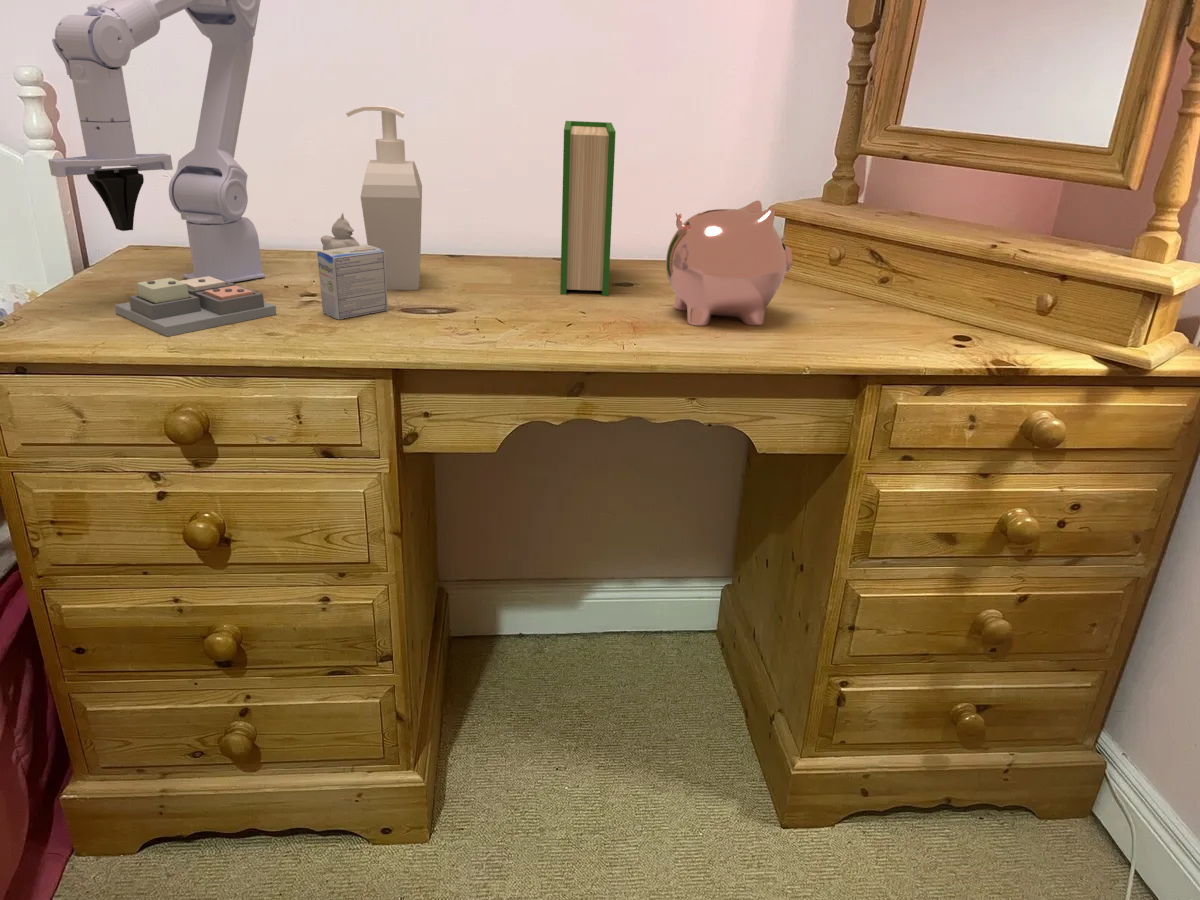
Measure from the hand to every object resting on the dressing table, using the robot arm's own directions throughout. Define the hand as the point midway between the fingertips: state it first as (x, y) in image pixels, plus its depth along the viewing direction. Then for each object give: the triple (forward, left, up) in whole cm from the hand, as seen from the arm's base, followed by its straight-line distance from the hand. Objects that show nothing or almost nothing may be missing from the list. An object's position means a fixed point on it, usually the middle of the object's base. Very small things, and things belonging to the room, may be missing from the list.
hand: (124, 229), depth 117 cm
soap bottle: (-34, +12, -10) cm, 37 cm away
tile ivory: (-7, +6, -9) cm, 12 cm away
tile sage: (0, +10, -7) cm, 12 cm away
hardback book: (-58, +31, -10) cm, 66 cm away
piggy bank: (-58, +58, -11) cm, 83 cm away
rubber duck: (-38, -7, -10) cm, 40 cm away
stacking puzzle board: (-4, +9, -10) cm, 14 cm away
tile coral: (-7, +13, -9) cm, 17 cm away
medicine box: (-20, +22, -11) cm, 32 cm away
